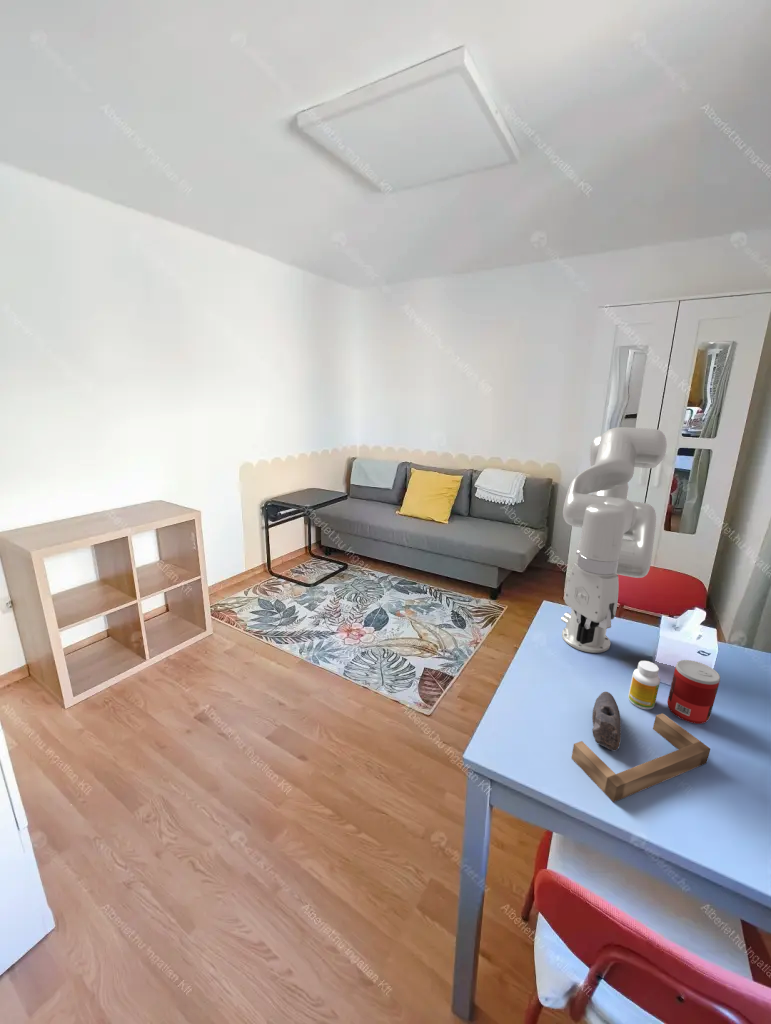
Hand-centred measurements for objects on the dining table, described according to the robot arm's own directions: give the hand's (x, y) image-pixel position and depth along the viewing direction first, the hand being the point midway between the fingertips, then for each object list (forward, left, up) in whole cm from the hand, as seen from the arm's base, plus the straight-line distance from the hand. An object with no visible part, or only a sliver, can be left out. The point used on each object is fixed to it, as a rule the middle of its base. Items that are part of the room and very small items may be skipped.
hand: (584, 641), depth 95 cm
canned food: (+11, +22, -17) cm, 30 cm away
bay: (+17, 0, -16) cm, 23 cm away
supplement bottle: (+5, +15, -17) cm, 23 cm away
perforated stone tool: (+8, 0, -17) cm, 19 cm away
